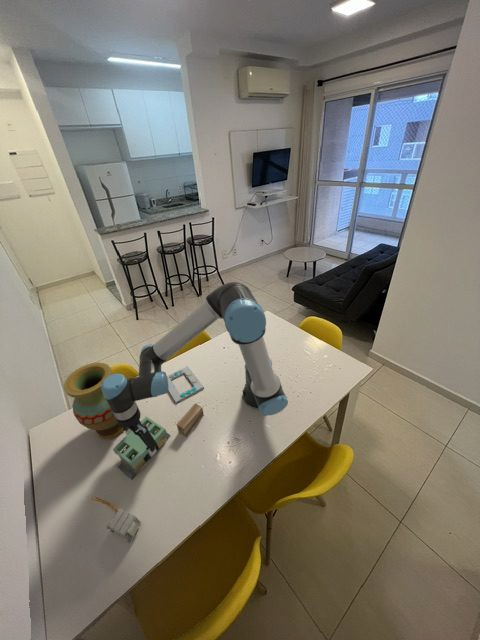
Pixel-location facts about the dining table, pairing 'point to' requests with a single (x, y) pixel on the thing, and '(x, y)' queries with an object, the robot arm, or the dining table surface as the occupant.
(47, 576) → the dining table surface
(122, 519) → the electrical component
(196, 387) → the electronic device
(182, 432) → the brown rectangular block
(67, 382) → the vase
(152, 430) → the board
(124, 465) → the chassis
